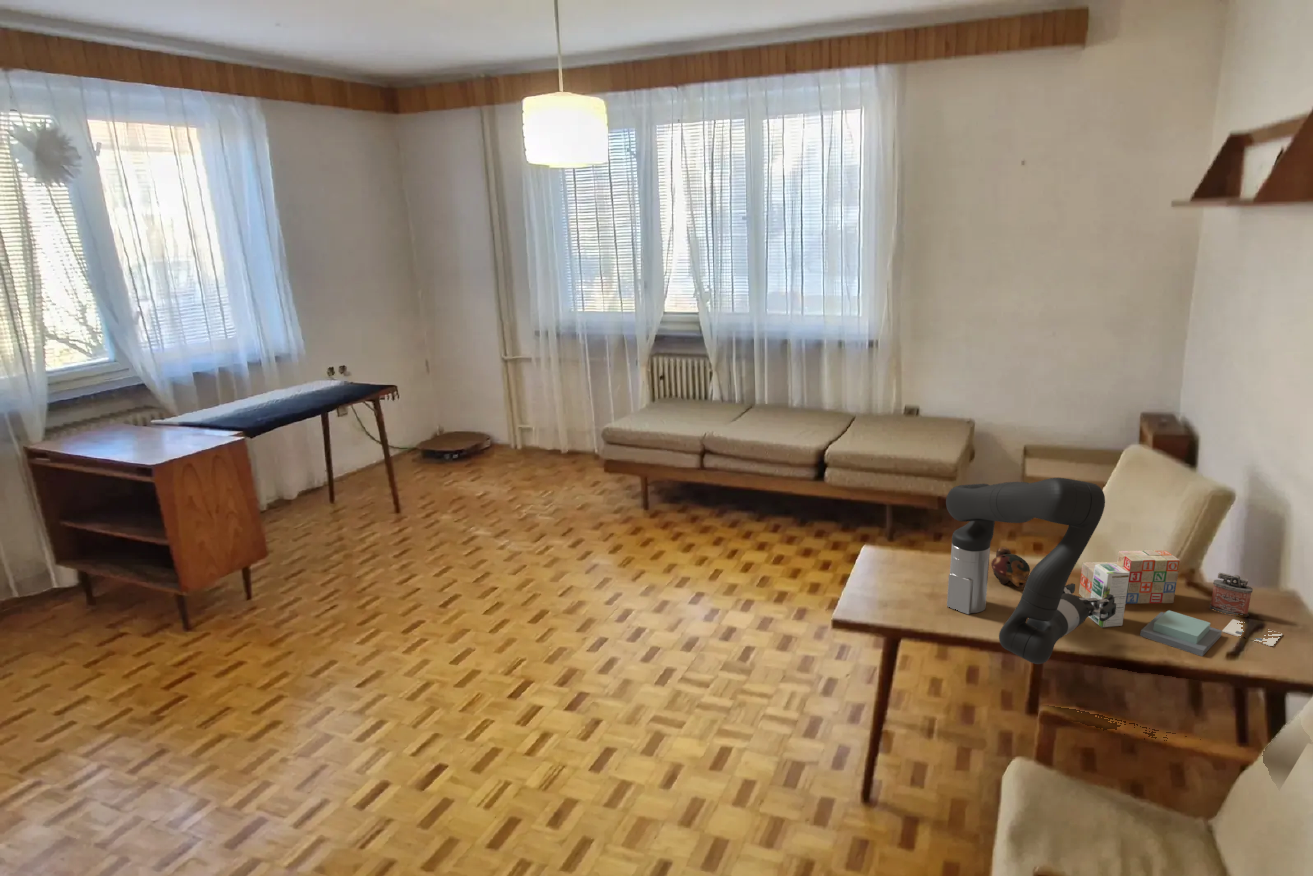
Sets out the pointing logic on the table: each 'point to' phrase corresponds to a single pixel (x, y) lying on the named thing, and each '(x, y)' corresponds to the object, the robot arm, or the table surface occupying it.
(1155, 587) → the stack of blocks
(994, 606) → the table surface
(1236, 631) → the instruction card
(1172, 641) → the tower base
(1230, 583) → the lighter
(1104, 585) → the syrup box
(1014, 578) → the decorative turtle
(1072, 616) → the robot arm
